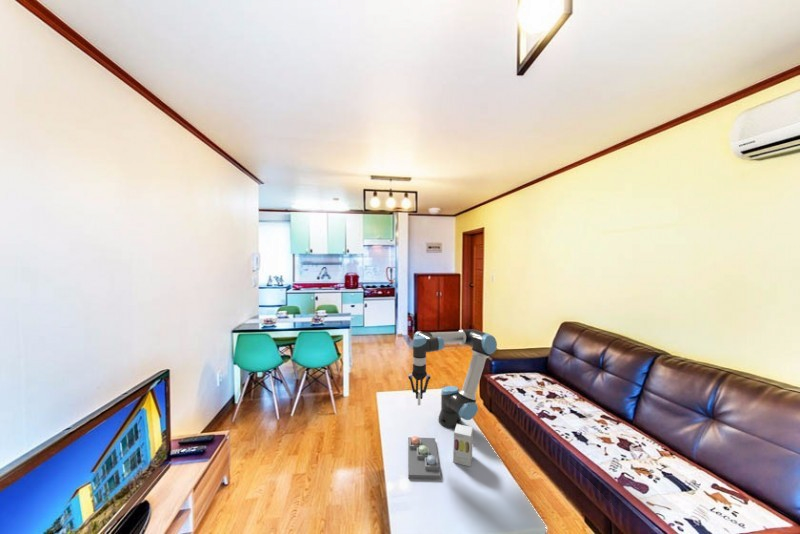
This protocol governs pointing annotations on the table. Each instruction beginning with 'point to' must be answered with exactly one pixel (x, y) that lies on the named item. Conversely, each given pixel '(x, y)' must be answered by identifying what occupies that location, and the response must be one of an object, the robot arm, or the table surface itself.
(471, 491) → the table surface
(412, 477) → the panel
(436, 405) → the table surface
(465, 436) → the supplement box
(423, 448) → the sage button
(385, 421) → the table surface
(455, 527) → the table surface
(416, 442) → the coral button
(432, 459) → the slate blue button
